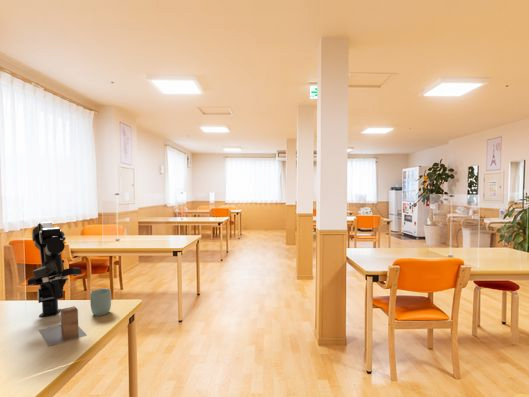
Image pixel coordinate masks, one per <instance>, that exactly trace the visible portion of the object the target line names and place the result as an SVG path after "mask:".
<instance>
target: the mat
mask: <svg viewBox="0 0 529 397" xmlns="http://www.w3.org/2000/svg"><path fill="white" fill-rule="evenodd" d="M78 329H79V337H75V338H72V339H68V340H64V339H63V338H62V335H61V324H57V325H54V326H49V327H45V328H43V329H39V330H38V332H39V334H40V335H41V337H42V338H43V339H44V342H45V343H46V345H47V346H48V348H51V347H53V346H57V345H60V344H62V343H67V342H70V341H73V340H77V339H81V338H84V337H87V336H88V335H87V333H86V332H85V331H84V330H83V329H82V328H81V327H80V326H79V325H78Z"/></svg>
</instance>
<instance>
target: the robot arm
mask: <svg viewBox="0 0 529 397" xmlns="http://www.w3.org/2000/svg"><path fill="white" fill-rule="evenodd" d="M52 223H53V222H52V221H48V220H47V221H39V222H37V225H36V226H35V227H34V228H33V229H32V232H31V233H32V234H31V236H32V237H31V238H32V239H31V240H32V242H34V247H35V248H36V249H37V250H38V251H39V258H40V265H41V266H40V267H38V268H36V269H35V270H32V274H33V277H30V278H28V279H27V281H26V282H27V283H26V284H27V287H29V286H30V287H31V286H39V287H38V288H37V302H38V304H41V306H42V307H41V309H42V312H41V313H40V314H39V315H38V317H40V318H42V317H52V316H57V315H58V314H60V313H61V310H60V309H61V308H59V302H58V301H59V300H62V298H64V286H65V285H66V283H67V281H68V280H69V278H68V276H74V277H75V276H76V277H77V276H80V275H83V274H82V269H81V268H80V267H69V268H63V264H64V263H65V260H64V259H62V258H63V257H62V253H63V251H64V249H65V248H66V247H65V245H66V244H65V240H66V235H65V233H64V231H63V229H61V227H58V226H55V227H54V226H53V224H52Z"/></svg>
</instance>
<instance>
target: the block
mask: <svg viewBox="0 0 529 397" xmlns="http://www.w3.org/2000/svg"><path fill="white" fill-rule="evenodd" d="M59 309H60V310H61V311H60V325H61V335H62V338H63V339H64V340H68V339H72V338H75V337H79V329H78V326H79V309H78V308H77V307H76V306H75V305H73V306H70V307H66V308H65V307H64V308H59Z"/></svg>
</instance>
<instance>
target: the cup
mask: <svg viewBox="0 0 529 397" xmlns="http://www.w3.org/2000/svg"><path fill="white" fill-rule="evenodd" d="M111 291H112V289H110V288H97V289H94V290H91V291H90V293H89V294H90V295H89V298H90V299H89V300H90V302H89V304H90V310H91V313H92V315H93V316H96V317H101V316H105V315H108V314H109V312H111V308H112V292H111Z"/></svg>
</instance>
